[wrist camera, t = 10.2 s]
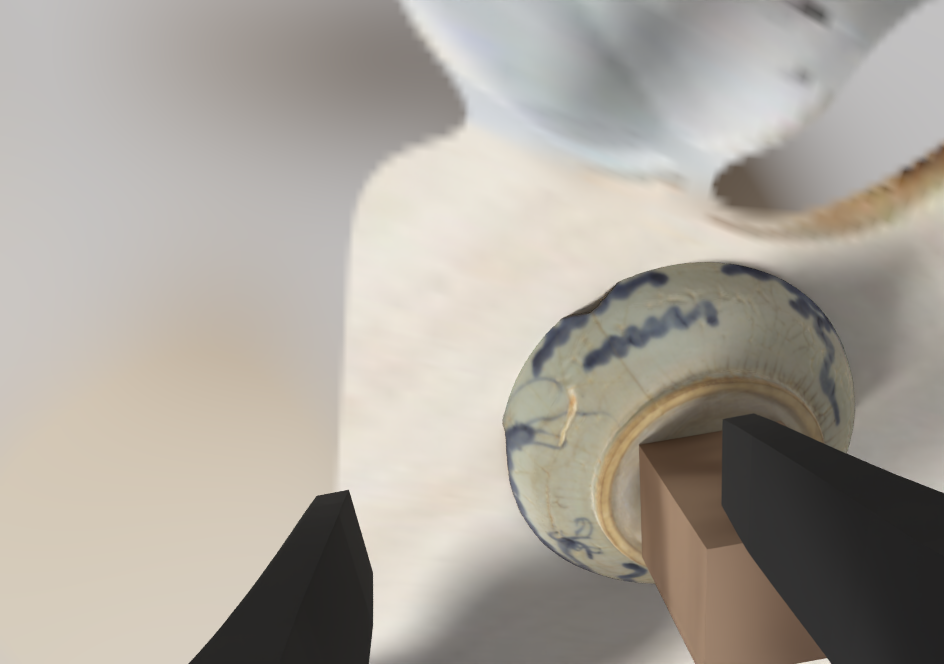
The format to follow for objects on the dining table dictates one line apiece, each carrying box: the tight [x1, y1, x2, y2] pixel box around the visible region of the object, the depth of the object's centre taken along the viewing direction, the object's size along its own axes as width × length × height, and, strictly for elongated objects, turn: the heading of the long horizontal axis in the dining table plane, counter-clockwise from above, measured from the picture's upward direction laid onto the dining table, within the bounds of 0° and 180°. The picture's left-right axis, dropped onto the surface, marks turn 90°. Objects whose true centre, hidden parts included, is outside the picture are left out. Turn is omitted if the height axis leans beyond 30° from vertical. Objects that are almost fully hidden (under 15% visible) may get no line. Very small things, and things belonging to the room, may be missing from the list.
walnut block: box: [639, 421, 827, 664], centre depth 19 cm, size 5×5×5 cm
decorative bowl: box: [503, 262, 855, 584], centre depth 23 cm, size 15×4×15 cm
